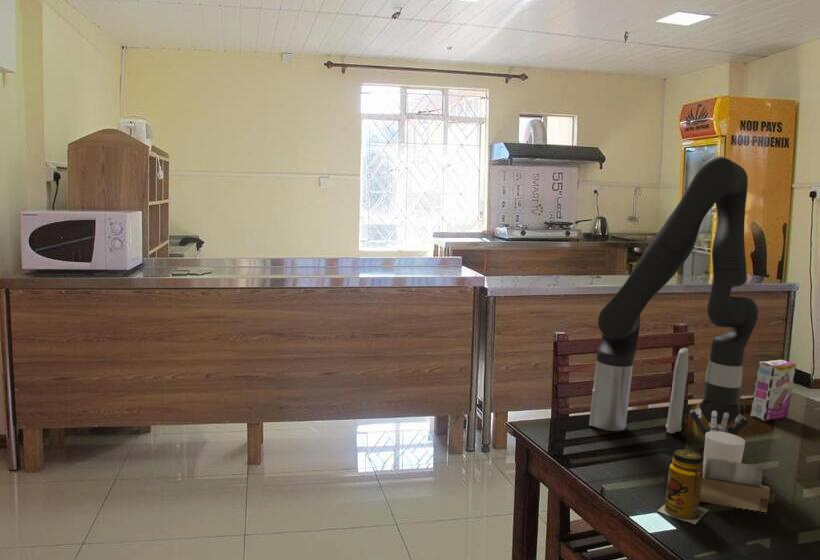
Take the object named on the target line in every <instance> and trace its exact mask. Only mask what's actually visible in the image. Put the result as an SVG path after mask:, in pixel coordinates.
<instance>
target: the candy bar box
mask: <svg viewBox="0 0 820 560" xmlns="http://www.w3.org/2000/svg"><path fill="white" fill-rule="evenodd" d="M757 367H758V368H757V372H756V373H757V374H756V378H755V384H754V389H753V397H752V403H751V409H750V414H749V415H750V417H752V418H753V419H757V420H759V421H763V422H768V421H774V420H779V419H784V418H785V419H786V418H788V414H789V408H790V402H791V397H792V390H793V386H794V379H795V373H796V367H797V363H794V362H792V361H787V360H784V359H776V360H775V359H774V360H767V361H765V360H763V361H759V362H758V366H757Z"/></svg>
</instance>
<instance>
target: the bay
mask: <svg viewBox="0 0 820 560" xmlns="http://www.w3.org/2000/svg"><path fill="white" fill-rule="evenodd" d="M763 481H765V482H769V483H773V482H774V481H775V476H774V475H771V474H770V475H769V474H764V473H763V467H762V466H760V465H756V464H755V465H754V464H748V463H742V462H741V463H737V462H731V461H725V460H719V459H713V458H706V459H705V464H704V475H703V477H702V484H701V491H700V499H699V502H702V503H708V504H712V505H717V504H718V506H723V505H724V506H723V507H728V506H730V508H734V507H736V508H735V509H739V508H742V509H741V510H745V509H749V510H748V511H750V510H757V511H761V512H767V513H768V506H769V499H770V493H771V489H770V486H769V485H768V486H767V485H762V482H763ZM761 512H760V513H761Z"/></svg>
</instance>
